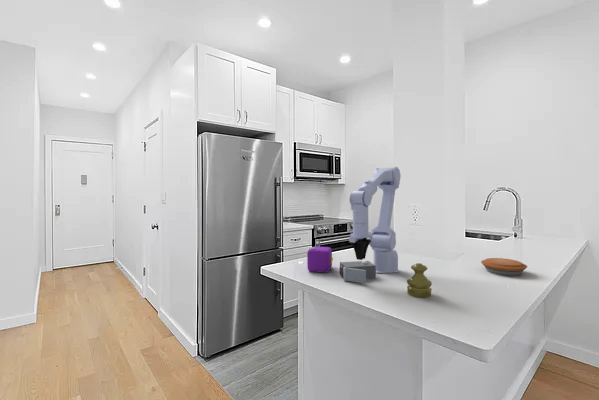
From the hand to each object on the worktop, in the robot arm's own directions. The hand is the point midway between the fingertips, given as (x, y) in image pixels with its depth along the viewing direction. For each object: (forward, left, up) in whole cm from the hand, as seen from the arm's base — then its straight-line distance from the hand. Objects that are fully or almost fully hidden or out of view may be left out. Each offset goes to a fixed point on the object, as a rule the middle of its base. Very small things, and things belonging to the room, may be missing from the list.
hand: (360, 258), depth 112 cm
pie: (-61, -1, -9) cm, 61 cm away
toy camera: (+11, -20, -9) cm, 25 cm away
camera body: (-1, -6, -8) cm, 11 cm away
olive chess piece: (-14, +17, -9) cm, 23 cm away
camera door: (+3, +1, -8) cm, 9 cm away
